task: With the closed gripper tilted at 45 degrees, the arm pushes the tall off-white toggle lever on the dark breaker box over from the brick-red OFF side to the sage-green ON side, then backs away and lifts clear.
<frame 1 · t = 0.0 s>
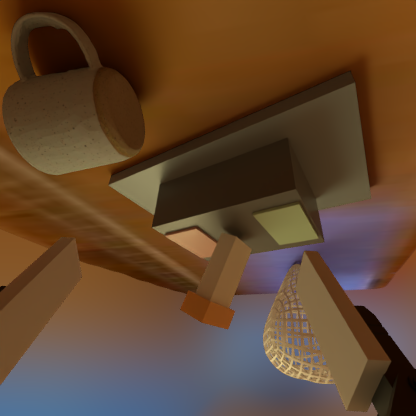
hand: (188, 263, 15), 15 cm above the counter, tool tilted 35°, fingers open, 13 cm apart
breaker lever: (221, 278, 28), point 12 cm above the counter, hinge at -25.0°
breaker box: (238, 182, 33), on the counter
heart: (296, 263, 59), on the counter
ceramic mug: (84, 79, 22), on the counter
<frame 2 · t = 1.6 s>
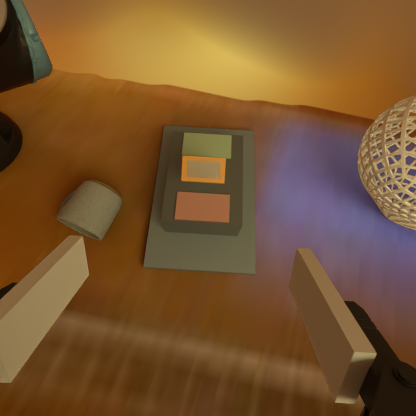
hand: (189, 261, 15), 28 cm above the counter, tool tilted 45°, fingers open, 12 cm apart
breaker lever: (204, 172, 35), point 12 cm above the counter, hinge at -25.0°
breaker box: (204, 194, 47), on the counter
heart: (391, 217, 47), on the counter
ceramic mug: (93, 215, 46), on the counter
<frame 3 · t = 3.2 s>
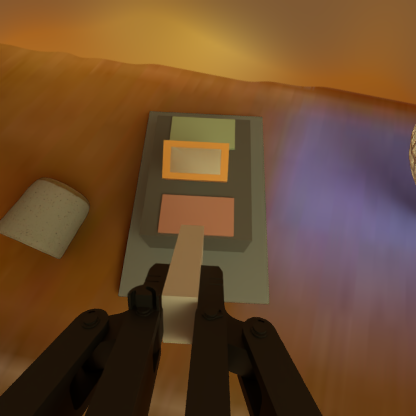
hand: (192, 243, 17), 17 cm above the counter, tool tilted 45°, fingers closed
breaker lever: (198, 166, 25), point 12 cm above the counter, hinge at -25.0°
breaker box: (200, 197, 37), on the counter
ceramic mug: (54, 225, 35), on the counter
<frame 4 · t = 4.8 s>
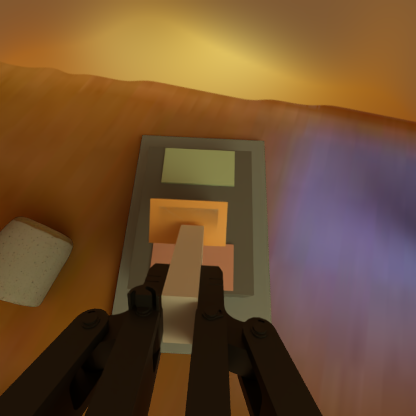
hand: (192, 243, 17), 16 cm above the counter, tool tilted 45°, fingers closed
breaker lever: (192, 216, 22), point 12 cm above the counter, hinge at -24.2°, touching gripper
breaker box: (197, 232, 34), on the counter
ceramic mug: (35, 263, 33), on the counter
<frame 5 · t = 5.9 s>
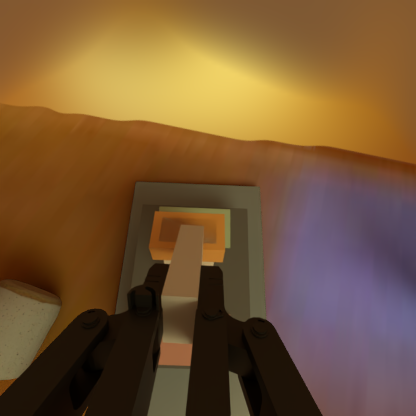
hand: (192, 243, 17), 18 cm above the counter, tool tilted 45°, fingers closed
breaker lever: (189, 256, 22), point 13 cm above the counter, hinge at 13.2°, touching gripper
breaker box: (193, 285, 33), on the counter
ceramic mug: (22, 321, 31), on the counter
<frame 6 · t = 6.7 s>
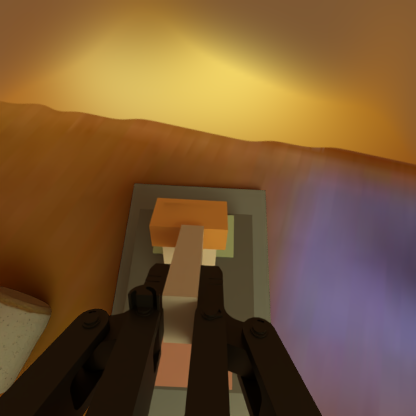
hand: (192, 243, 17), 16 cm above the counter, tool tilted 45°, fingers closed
breaker lever: (190, 254, 21), point 12 cm above the counter, hinge at 27.6°, touching gripper
breaker box: (193, 294, 31), on the counter
ceramic mug: (10, 330, 30), on the counter
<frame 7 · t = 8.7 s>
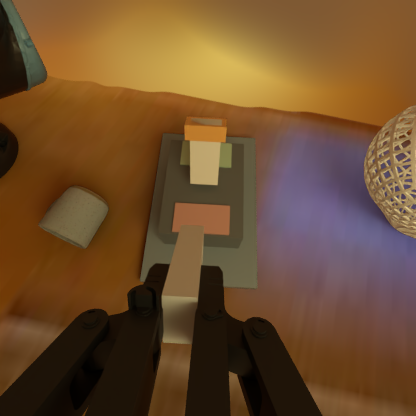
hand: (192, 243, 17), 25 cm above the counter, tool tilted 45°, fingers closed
breaker lever: (205, 153, 35), point 12 cm above the counter, hinge at 27.8°
breaker box: (204, 204, 46), on the counter
heart: (399, 227, 45), on the counter
ceramic mug: (80, 223, 45), on the counter
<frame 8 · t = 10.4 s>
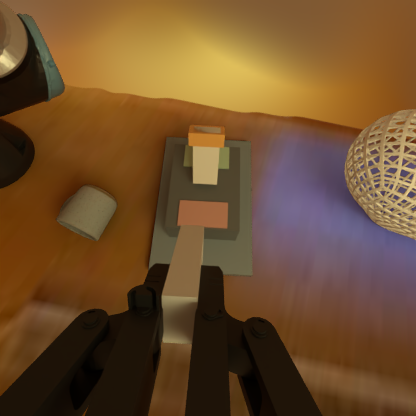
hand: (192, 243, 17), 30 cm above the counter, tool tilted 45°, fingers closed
breaker lever: (206, 157, 41), point 12 cm above the counter, hinge at 27.8°
breaker box: (204, 201, 51), on the counter
heart: (379, 221, 50), on the counter
ceramic mug: (91, 218, 50), on the counter
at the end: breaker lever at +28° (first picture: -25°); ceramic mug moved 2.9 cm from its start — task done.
